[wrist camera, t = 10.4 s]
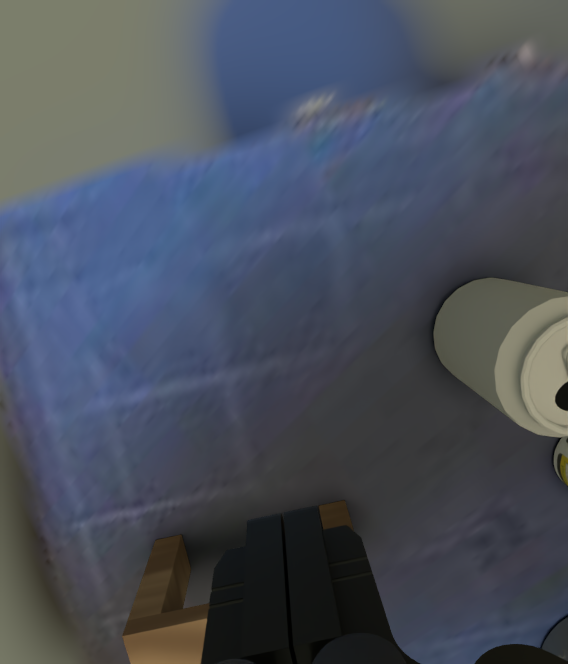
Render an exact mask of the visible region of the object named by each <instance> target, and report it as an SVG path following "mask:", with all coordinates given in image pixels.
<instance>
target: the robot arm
mask: <svg viewBox="0 0 568 664" xmlns="http://www.w3.org/2000/svg"><path fill="white" fill-rule="evenodd" d="M209 607H210V609H208V616H207V623H206V630H205V637H204V644H203V651H202V658H201V664H420V663H418V662H416V661H415V660H413V659H411V658H410V657H409V656H408V655H406V654H405V653H404V652H403V651H402V650H401V649H400V648H399V646H398V645H397V643H396V642H395V640H394V638H393V635H392V633H391V630H390V626H389V623H388V620H387V617H386V614H385V611H384V608H383V605H382V601H381V598H380V595H379V592H378V589H377V586H376V583H375V579H374V576H373V574H372V570H371V567H370V564H369V561H368V558H367V554H366V551H365V548H364V545H363V542H362V539H361V537H360V536H359V535H358V534H356V533H355V532H354V531H353V530H352V529H351V528H350V527H348V526H347V525H343V526H338V527H333V528H329V529H324V530H322V528H321V523H320V518H319V514H318V509H317V506H312V507H307V508H303V509H298V510H293V511H288V512H284V520H283V517H282V514H281V513H280V514H275V515H270V516H265V517H261V518H256V519H251V520H248V521H247V535H246V546H244V547H239V548H234V549H230V550H226V552H225V553H224V555H223V556H222V558H221V559H220V561H219V562H218V564H217V565H216V567H215V568H214V574H213V581H212V592H211V595H210V602H209ZM475 664H568V617H567V618H566V619H564V620H563V621H561V622H560V623H559V624H558V625H557V626H556V627H555V628H554V629H553V630H552V631H551V632H550V633H549V635H548V637H547V638H546V640H545V641H544V644H543V646H542V649H540V648H537V647H533V646H528V645H522V644H510V645H502V646H499V647H495V648H493V649H491V650H488V651H487V652H486V653H484V654H483V655H482V656H481V657H480V658H479V659H478V660H477V661H476V663H475Z"/></svg>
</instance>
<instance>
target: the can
mask: <svg viewBox="0 0 568 664" xmlns="http://www.w3.org/2000/svg"><path fill="white" fill-rule="evenodd" d="M433 335H434V344H435V350H436V352H437V354H438V356H439V359H440V361H441V363H442V364H443V365H444V366H445V367H446V368H447V369H448V370H449V371H450V372H451V373H452V374H453V375H454V376H455V377H456V378H458V379H459V380H460V381H462V382H463V383H464V384H466V385H467V386H468V387H470V388H471V389H472V390H473V391H475V392H476V393H477V394H479V395H480V396H481V397H483V398H484V399H485V400H487V401H488V402H489V403H490V404H492V405H493V406H494V407H496V408H497V409H498V410H500V411H501V412H502V413H504V414H505V415H506V416H508V417H509V418H510V419H511V420H513V421H514V422H515V423H517V424H518V425H519V426H521V427H523V428H525V429H527V430H530V431H532V432H534V433H536V434H538V435H544V436H552V437H565V436H568V292H563V291H559V290H554V289H549V288H544V287H539V286H534V285H529V284H525V283H520V282H515V281H510V280H504V279H498V278H485V279H479V280H474V281H472V282H470V283H468V284H466V285H464V286H462V287H460V288H458V289H457V290H456V291H455V292H454V293H453V294H452V295H451V296H450V297H449V298H448V299H447V300H446V301H445V302H444V304H443V306H442V308H441V309H440V311H439V313H438V315H437V317H436V322H435V327H434V332H433Z"/></svg>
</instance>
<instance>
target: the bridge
mask: <svg viewBox="0 0 568 664" xmlns="http://www.w3.org/2000/svg"><path fill="white" fill-rule="evenodd" d="M319 510H320V515H321V520H322V525H323V530H324V529H329V528H333V527H338V526H343V525H347V526H348V527H350V528H351V529H352V530H353V531H354V529H353V526H352V523H351V519H350V516H349V513H348V509H347V506H346V503H345V500H343V501H338V502H334V503H329V504H324V505H319ZM190 572H191V567H190V563H189V560H188V556H187V552H186V549H185V545H184V542H183V538H182V535H177V536H172V537H168V538H163V539H158V540H155V543H154V546H153V549H152V552H151V554H150V557H149V560H148V563H147V566H146V569H145V572H144V575H143V578H142V580H141V583H140V586H139V589H138V592H137V595H136V598H135V601H134V604H133V607H132V609H131V612H130V615H129V618H128V621H127V624H126V627H125V630H124V633H123V635H122V637H123V640H124V644H125V647H126V650H127V653H128V656H129V659H130V662H131V664H201V658H202V651H203V644H204V637H205V630H206V623H207V616H208V609H210V607H209V603H208V604H204V605H199V606H194V607H190V608H185V609H183V605H184V601H185V596H186V591H187V586H188V582H189V577H190Z"/></svg>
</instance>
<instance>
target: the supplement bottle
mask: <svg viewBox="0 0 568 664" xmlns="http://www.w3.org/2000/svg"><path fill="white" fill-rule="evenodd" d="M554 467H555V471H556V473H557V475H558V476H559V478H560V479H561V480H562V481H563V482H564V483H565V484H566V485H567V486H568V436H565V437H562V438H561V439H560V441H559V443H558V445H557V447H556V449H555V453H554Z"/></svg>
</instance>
